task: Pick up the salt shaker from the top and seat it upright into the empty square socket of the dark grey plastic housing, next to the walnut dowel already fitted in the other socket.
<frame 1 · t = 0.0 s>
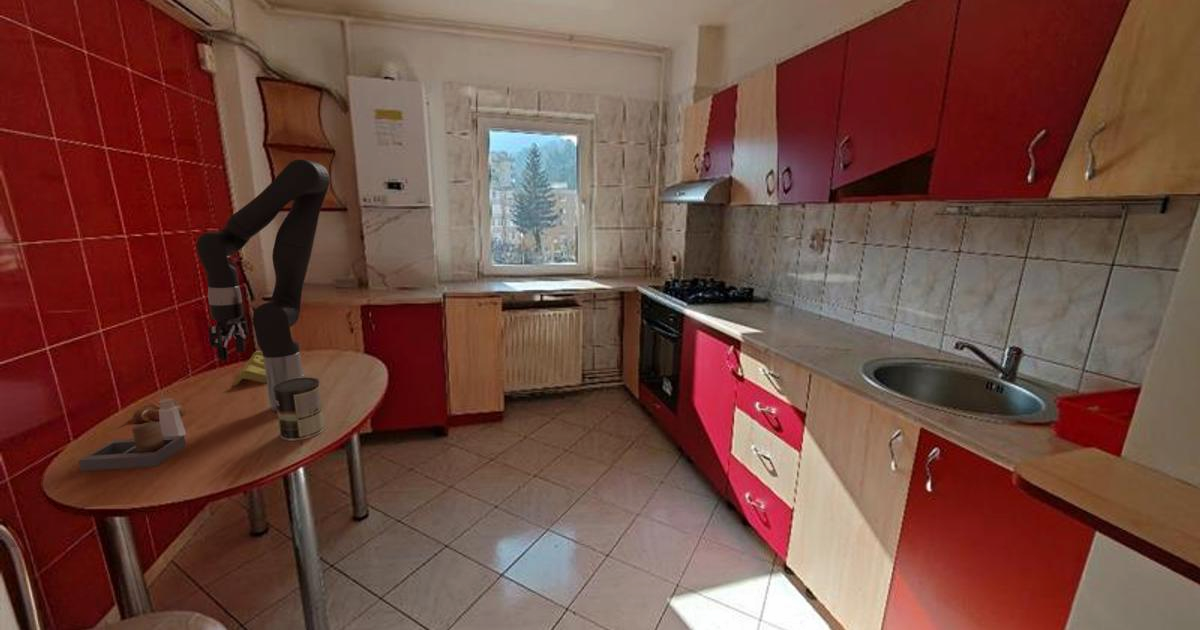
hand: (232, 355, 138), 17 cm above the table, tool pointing down, fingers open, 8 cm apart
fitted dowel: (152, 456, 112), resting on housing
plastic component: (260, 377, 169), on the table
housing: (137, 460, 112), on the table
bread roll: (161, 418, 136), on the table
salt shaker: (174, 438, 123), on the table
coffee can: (303, 432, 127), on the table
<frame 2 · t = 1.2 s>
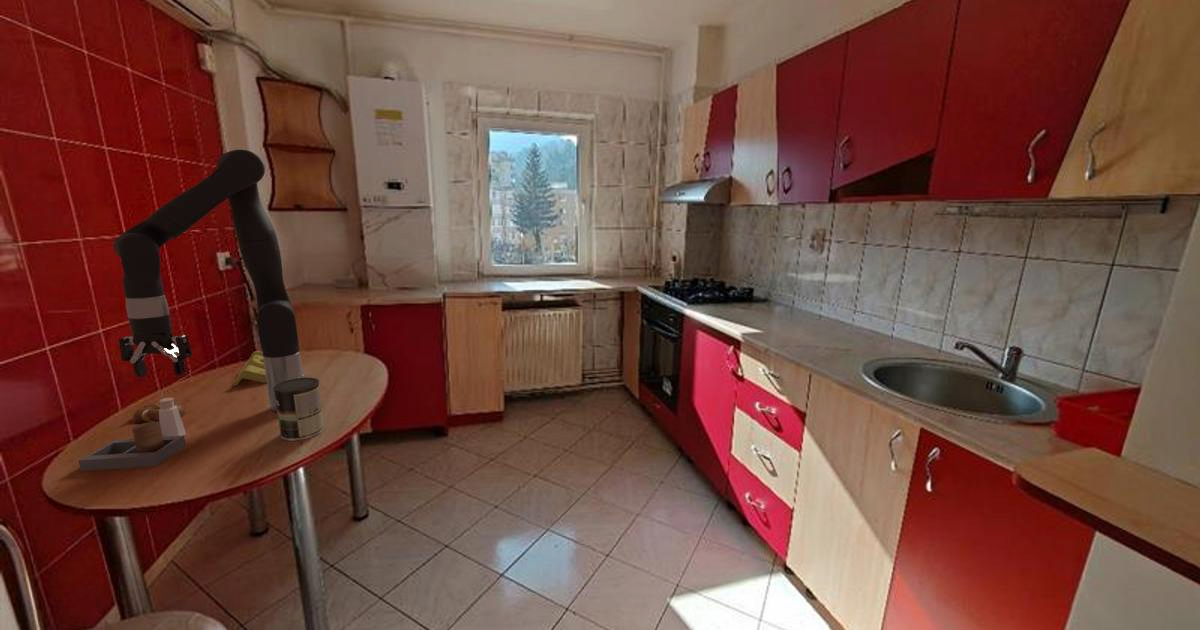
hand: (161, 375, 119), 18 cm above the table, tool pointing down, fingers open, 8 cm apart
nothing on the table moved.
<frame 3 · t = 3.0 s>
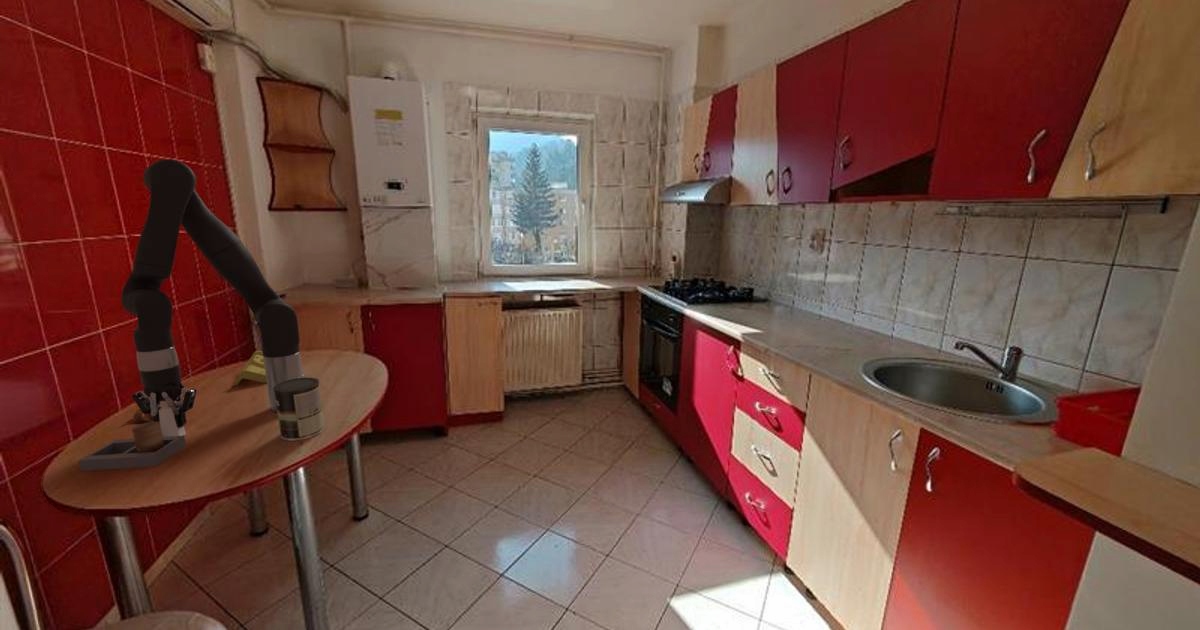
hand: (171, 426, 122), 3 cm above the table, tool pointing down, fingers closed on salt shaker, 3 cm apart
salt shaker: (174, 438, 123), on the table, touching gripper
everything else where it was.
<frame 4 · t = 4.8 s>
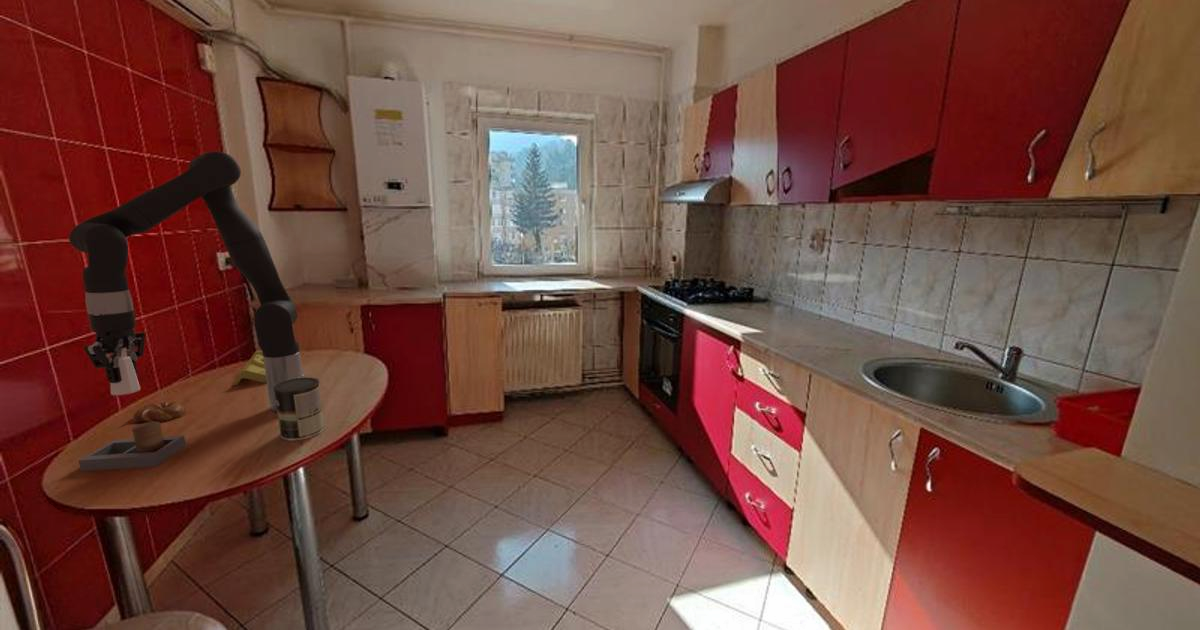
hand: (123, 378, 112), 19 cm above the table, tool pointing down, fingers closed on salt shaker, 3 cm apart
salt shaker: (126, 392, 113), point 16 cm above the table, touching gripper
everything else where it was.
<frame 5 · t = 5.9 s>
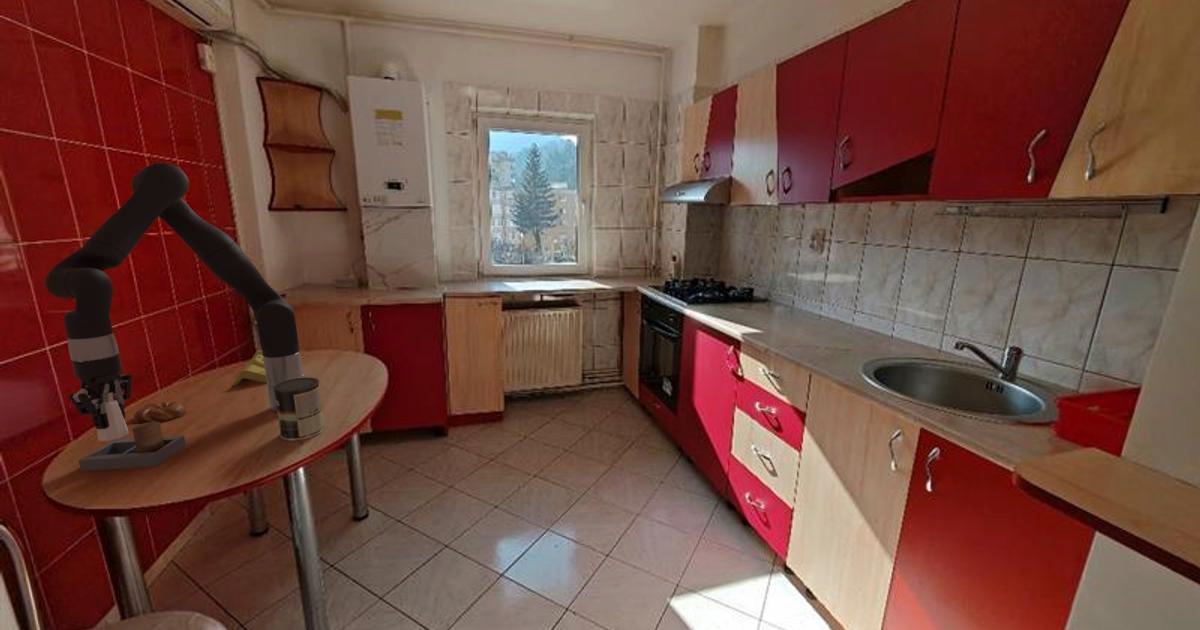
hand: (111, 423, 109), 10 cm above the table, tool pointing down, fingers closed on salt shaker, 3 cm apart
salt shaker: (113, 437, 110), point 6 cm above the table, touching gripper
everything else where it was.
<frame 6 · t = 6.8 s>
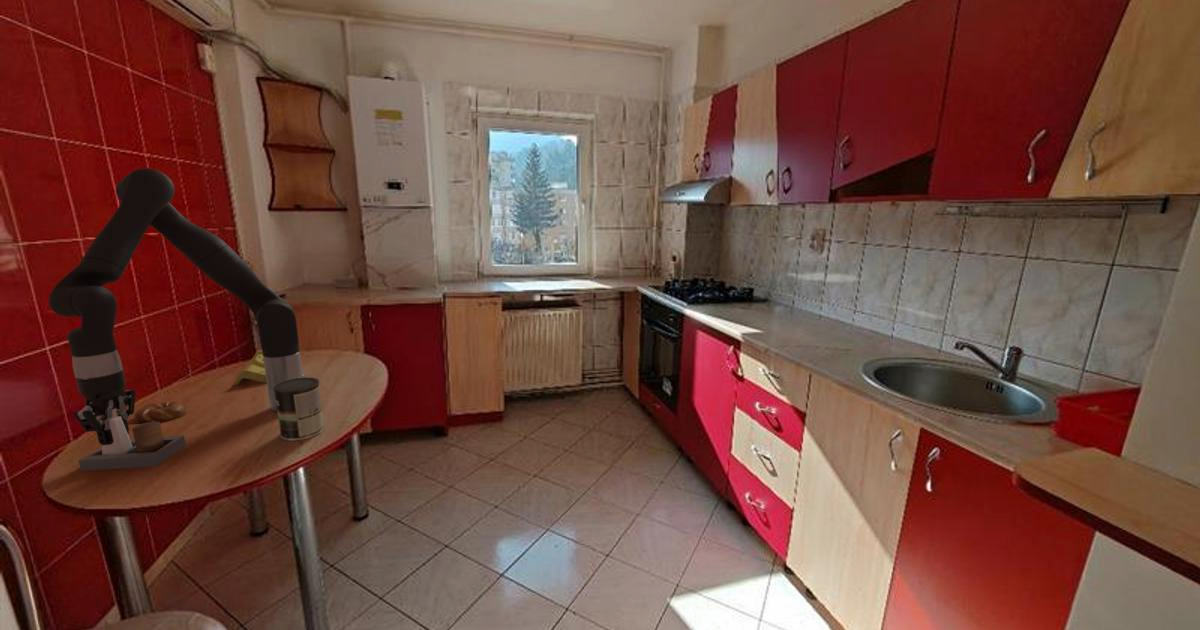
hand: (115, 439, 110), 6 cm above the table, tool pointing down, fingers closed on salt shaker, 3 cm apart
salt shaker: (118, 452, 111), point 2 cm above the table, touching gripper
everything else where it was.
when the fingers open (5 cm above the table, at t = 7.1 s): salt shaker drops 1 cm, resting on housing.
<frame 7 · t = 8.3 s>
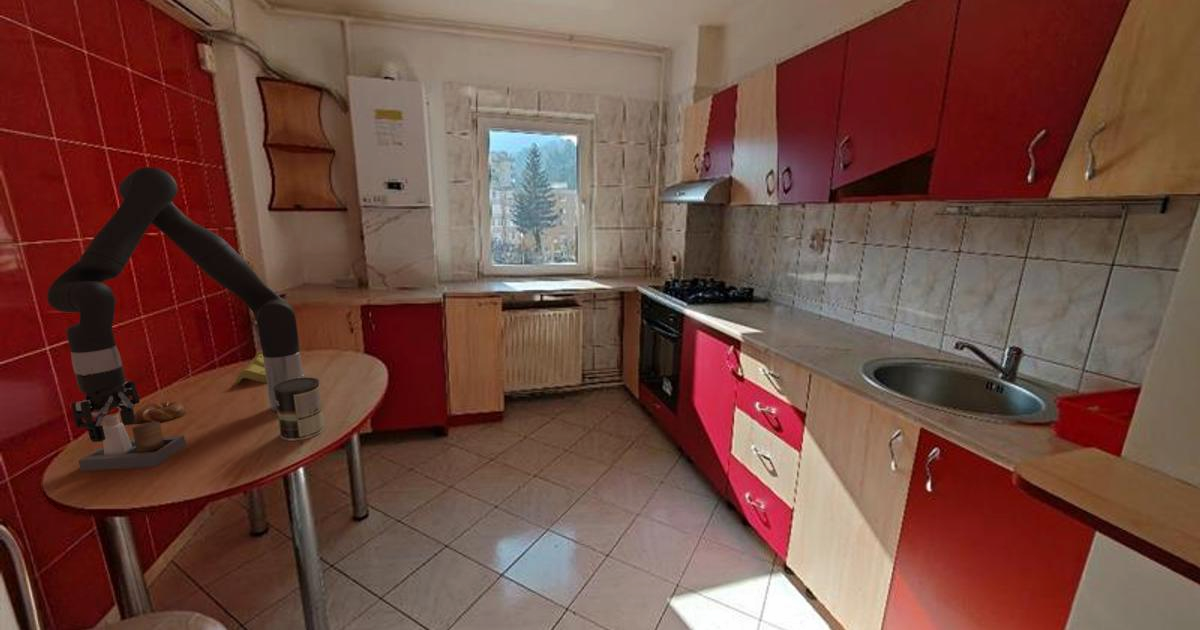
hand: (114, 432, 110), 8 cm above the table, tool pointing down, fingers open, 8 cm apart
salt shaker: (120, 459, 111), point 1 cm above the table, touching housing
everything else where it was.
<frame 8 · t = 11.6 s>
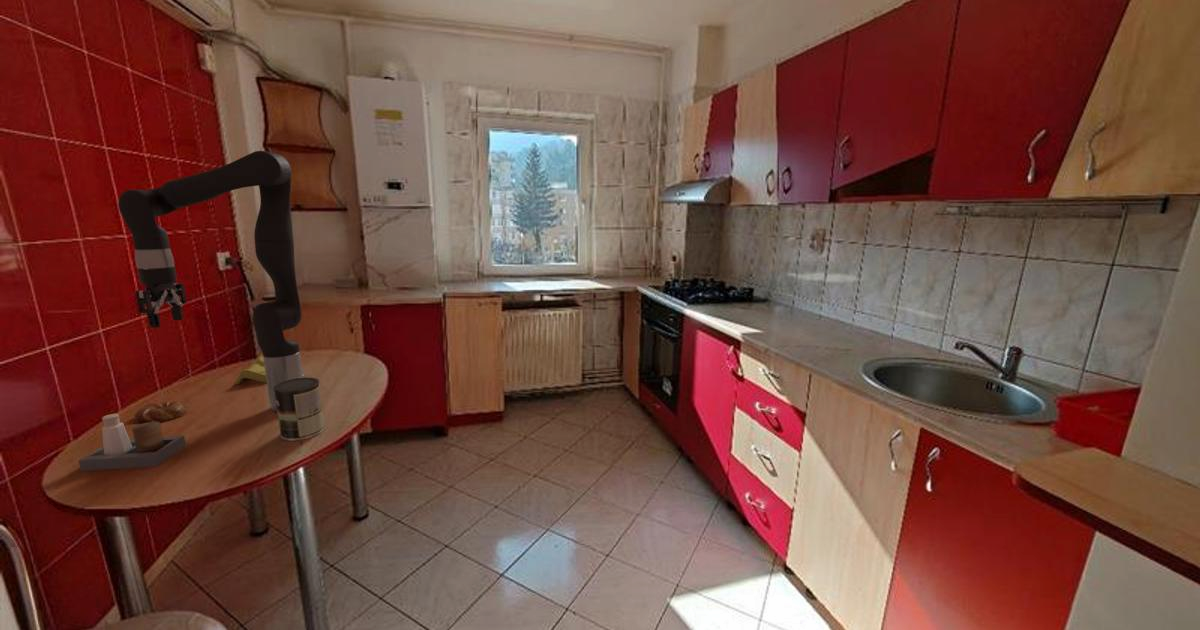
hand: (167, 323, 130), 28 cm above the table, tool pointing down, fingers open, 8 cm apart
at the end: salt shaker 0.1 cm from the target spot on the housing, point 0.6 cm above the housing's base; salt shaker tilted 0°; the gripper is holding nothing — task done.
